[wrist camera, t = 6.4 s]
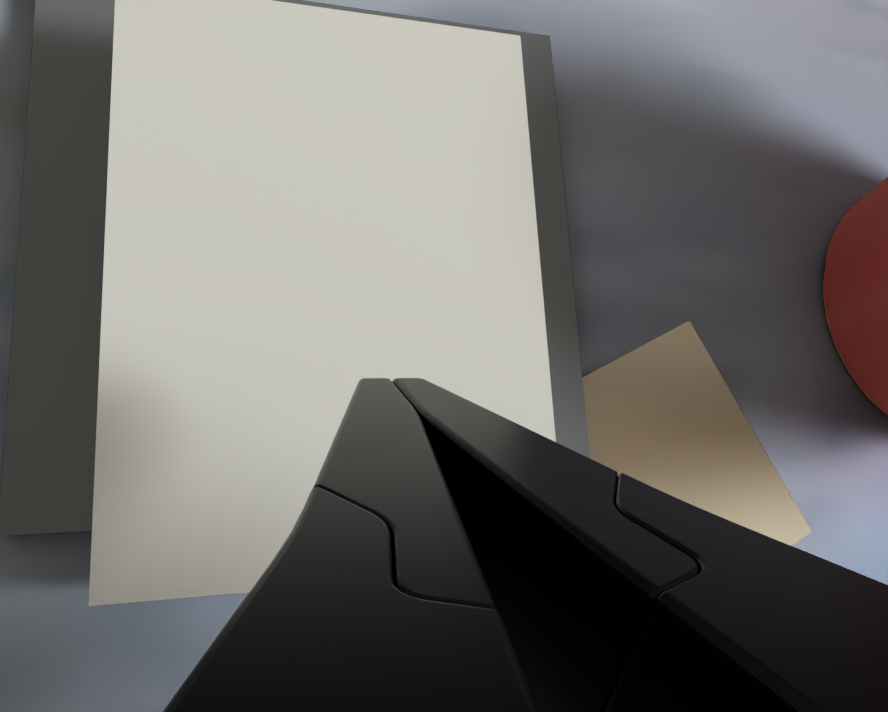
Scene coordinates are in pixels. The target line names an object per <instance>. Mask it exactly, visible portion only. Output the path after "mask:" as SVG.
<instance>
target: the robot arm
mask: <svg viewBox="0 0 888 712" xmlns="http://www.w3.org/2000/svg"><path fill="white" fill-rule="evenodd" d="M163 712H888V585H886V584H883V583H881V582H878V581H876V580H873V579H871V578H869V577H866V576H864V575H861V574H859V573H856V572H854V571H851V570H849V569H846V568H844V567H842V566H839V565H837V564H834V563H832V562H829V561H827V560H824V559H822V558H819V557H817V556H815V555H812V554H810V553H807V552H805V551H802V550H800V549H797V548H795V547H793V546H790V545H788V544H785V543H783V542H780V541H778V540H775V539H773V538H770V537H768V536H766V535H763V534H761V533H758V532H756V531H753V530H751V529H748V528H746V527H743V526H741V525H739V524H736V523H734V522H731V521H729V520H727V519H724V518H722V517H720V516H717V515H715V514H712V513H710V512H708V511H705V510H703V509H701V508H698V507H696V506H694V505H691V504H689V503H687V502H684V501H682V500H680V499H678V498H676V497H673V496H671V495H669V494H667V493H665V492H662V491H660V490H658V489H656V488H654V487H651V486H649V485H647V484H645V483H643V482H641V481H639V480H637V479H635V478H632V477H630V476H628V475H626V474H624V473H620V474H619V475H618V473H617V471H615V470H613V469H611V468H609V467H607V466H605V465H603V464H601V463H598V462H596V461H594V460H592V459H590V458H588V457H586V456H584V455H582V454H580V453H578V452H575V451H573V450H571V449H569V448H567V447H565V446H563V445H561V444H559V443H557V442H554V441H552V440H550V439H548V438H546V437H544V436H542V435H540V434H538V433H536V432H534V431H531V430H529V429H527V428H525V427H523V426H521V425H519V424H517V423H515V422H513V421H511V420H508V419H506V418H504V417H502V416H500V415H498V414H496V413H494V412H492V411H490V410H488V409H485V408H483V407H481V406H479V405H477V404H475V403H473V402H471V401H469V400H467V399H464V398H462V397H460V396H458V395H456V394H454V393H452V392H450V391H448V390H446V389H444V388H441V387H439V386H437V385H435V384H433V383H431V382H429V381H427V380H425V379H421V378H396V379H394V380H393V381H391V380H390V379H388V378H362V379H361V380H360V381H359V382H358V384H357V386H356V389H355V391H354V393H353V396H352V398H351V400H350V403H349V405H348V407H347V410H346V412H345V414H344V417H343V419H342V421H341V424H340V426H339V428H338V431H337V433H336V435H335V438H334V440H333V442H332V445H331V447H330V449H329V452H328V454H327V456H326V459H325V461H324V463H323V466H322V468H321V470H320V473H319V475H318V477H317V480H316V482H315V484H314V487H313V489H312V490H311V492H310V494H309V496H308V499H307V501H306V503H305V506H304V508H303V510H302V512H301V514H300V516H299V518H298V519H297V521H296V523H295V525H294V527H293V529H292V531H291V533H290V534H289V536H288V537H287V539H286V541H285V542H284V544H283V545H282V547H281V548H280V550H279V551H278V553H277V554H276V556H275V557H274V559H273V560H272V562H271V563H270V565H269V566H268V567H267V569H266V570H265V571H264V573H263V574H262V576H261V577H260V578H259V580H258V581H257V583H256V584H255V585H254V587H253V588H252V589H251V591H250V592H249V594H248V595H247V596H246V598H245V599H244V600H243V602H242V603H241V605H240V606H239V607H238V609H237V610H236V612H235V613H234V614H233V616H232V617H231V618H230V620H229V621H228V623H227V624H226V625H225V627H224V628H223V629H222V631H221V632H220V634H219V635H218V636H217V638H216V639H215V641H214V642H213V643H212V645H211V646H210V647H209V649H208V650H207V652H206V653H205V654H204V656H203V657H202V658H201V660H200V661H199V663H198V664H197V665H196V667H195V668H194V669H193V671H192V672H191V674H190V675H189V676H188V678H187V679H186V681H185V682H184V683H183V685H182V686H181V687H180V689H179V690H178V692H177V693H176V694H175V696H174V697H173V698H172V700H171V701H170V703H169V704H168V705H167V707H166V708H165V710H164V711H163Z"/></svg>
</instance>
